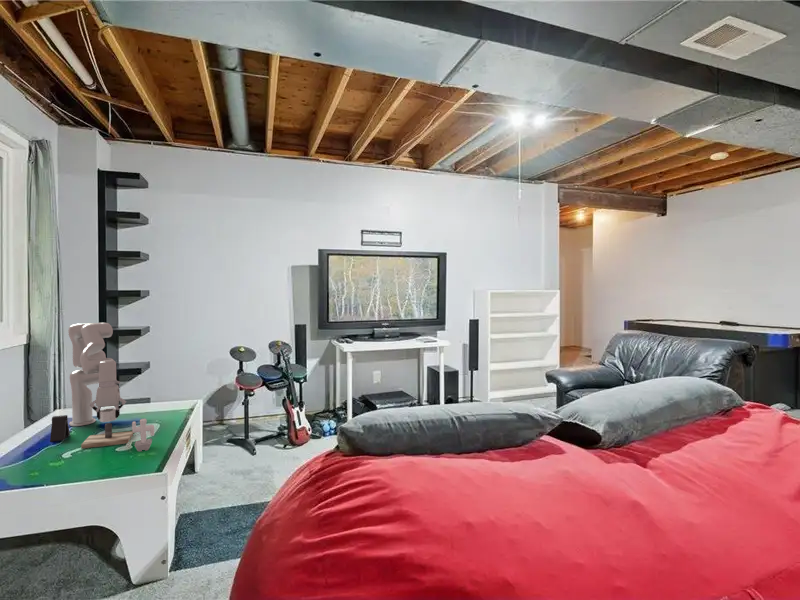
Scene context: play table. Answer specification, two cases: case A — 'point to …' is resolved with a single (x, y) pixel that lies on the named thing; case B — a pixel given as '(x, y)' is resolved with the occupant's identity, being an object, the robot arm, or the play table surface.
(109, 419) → the steel ring
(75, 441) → the play table surface
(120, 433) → the post stand
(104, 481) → the play table surface
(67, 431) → the phone stand
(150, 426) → the figurine
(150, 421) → the play table surface
